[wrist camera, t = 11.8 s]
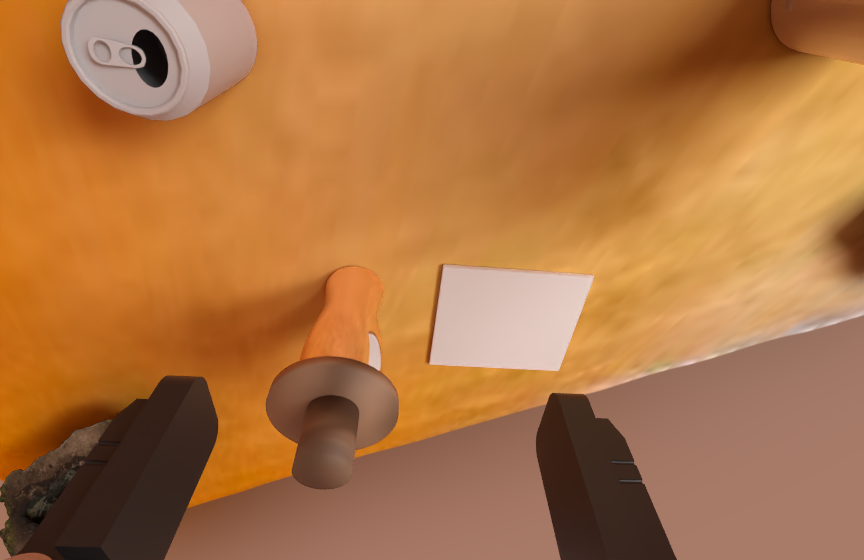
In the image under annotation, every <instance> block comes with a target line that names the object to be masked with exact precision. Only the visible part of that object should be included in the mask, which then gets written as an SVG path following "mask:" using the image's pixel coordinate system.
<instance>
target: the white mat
mask: <svg viewBox="0 0 864 560" xmlns="http://www.w3.org/2000/svg"><path fill="white" fill-rule="evenodd" d="M593 279H594V276H593V275H590V274H576V273H562V272H548V271H534V270H519V269H505V268H491V267H477V266H463V265H448V264H443V270H442V277H441V284H440V291H439V298H438V305H437V312H436V319H435V326H434V333H433V340H432V347H431V354H430V361H429V364H430V365H450V366H470V367H490V368H510V369H530V370H551V371H559V369H560V366H561V363H562V361H563V358H564V355H565V353H566V350H567V348H568V345H569V342H570V340H571V337H572V334H573V332H574V329H575V326H576V324H577V321H578V319H579V316H580V313H581V311H582V308H583V305H584V303H585V300H586V297H587V295H588V292H589V290H590V287H591V284H592V282H593Z"/></svg>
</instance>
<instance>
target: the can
mask: <svg viewBox="0 0 864 560" xmlns="http://www.w3.org/2000/svg"><path fill="white" fill-rule="evenodd" d="M60 23H61V41H62V44H63V47H64V50H65V53H66V55H67V58H68V61H69V63H70V64H71V66H72V68H73V69H74V71H75V72H76V74H77V75H78V77H79V78H80V80H81V81H82V82H83V83H84V84H85V85H86V86H87V87H88V88H89V89H90V90H91V91H92V92H93V93H94V94H95V95H96V96H97V97H98V98H100V99H101V100H103V101H104V102H106V103H108V104H109V105H111V106H112V107H114V108H115V109H118V110H121V111H124V112H127V113H129V114H132V115H137V116H140V117H143V118H145V119H149V120H165V121H169V120H173V119H176V118H180V117H183V116H186V115H188V114H190V113H191V112H193V111H194V110H196V109H198V108H199V107H201V106H202V105H204V104H206V103H207V102H209V101H210V100H212V99H214V98H215V97H217V96H218V95H220V94H221V93H223V92H225V91H226V90H228V89H229V88H231V87H233V86H234V85H236V84H237V83H239V82H240V81H241V80H242V79H244V78H245V77H246V76H247V75H248V74H249V72H250V70H251V69H252V67H253V65H254V63H255V60H256V54H257V48H258V45H257V37H256V30H255V26H254V24H253V22H252V19H251V17H250V14H249V12H248V10H247V9H246V7H245V6H244V4H243V3H242V2H241V0H69V1H68V2H67V3H66V6H65V9H64V12H63V15H62V18H61V21H60Z"/></svg>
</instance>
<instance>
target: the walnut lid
mask: <svg viewBox="0 0 864 560" xmlns="http://www.w3.org/2000/svg"><path fill="white" fill-rule="evenodd" d="M398 410H399V399H398V394H397V391H396V389H395V387H394V385H393V384H392V382H391V381H390V380H389V379H388V378H387V377H386V376H385V375H384V374H383V373H382V372H380V371H379V370H377V369H376V368H374V367H372V366H370V365H368V364H366V363H363V362H361V361H357V360H354V359H350V358H345V357H336V356H322V357H313V358H308V359H305V360H301V361H298V362H296V363H294V364H292V365H290V366H288V367H287V368H285V369H284V370H283V371H281V372H280V373H279V374H278V375H277V376H276V378H275V379H274V381H273V383H272V385H271V388H270V391H269V394H268V396H267V400H266V411H267V415H268V417H269V419H270V421H271V423H272V424H273V426H274V427H275V428H276V429H277V430H278V431H279V432H280V433H281V434H282V435H284V436H285V437H287V438H288V439H290V440H292V441H294V442H295V443H298V447H297V451H296V455H295V459H294V463H293V467H292V474H293V476H294V478H295V479H296V480H297V481H298V482H299V483H301V484H303V485H305V486H307V487H311V488H315V489H334V488H338V487H341V486H343V485H345V484H346V483H348V482H349V481H350V479H351V477H352V471H353V463H354V454H355V450H358V449H362V448H366V447H368V446H371V445H373V444H375V443H377V442H379V441H381V440H382V439H384V438H385V437H386V436H387V435H388V434H389V433H390V432H391V431H392V430H393V428H394V427H395V425H396V422H397V419H398Z"/></svg>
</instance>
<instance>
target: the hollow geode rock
mask: <svg viewBox="0 0 864 560" xmlns="http://www.w3.org/2000/svg"><path fill="white" fill-rule="evenodd" d="M111 421H112V420H104V421H103V422H100V423H97V424H95V425H93V426H89V427H85V428H84V429H78V430H75V431H73V433H72V435H71V436H70V437H69V438H68V439H67V440H65V441H64V442H63V443H62V445H61V446H60V447H59V448H57V449H55V450H53V451H50V452H49V453H48V454H46V455H44V456H42V457H39V458H38V459H37V460H36V461H34V462H33V464H32V465H31V466H29V467H28V468H27V469H26V470H24V471H23V470H21V469H20V470H15V471H13V472H12V473H10V474H9V475H8V476H7V477H6V481H5V482H4V483H3V485H2V487H0V491H1V493H2V494H1V496H0V502H5V504H4V505H5V507H6V509H7V514H8V516H9V519H8V520H7V521H6V523H5V527H6V528H4V529H2V530H1V531H0V537H1V538H2V539H3V542H4V545H5V546H6V548H7V550H8V552H9V554H10V556H11V557H13V556H15V555H17V553H18V552H19V551H20V550H21V549H22V548H23V547H24V546H25V544H26V543H27V542H28V541H29V539H30V538H31V537H32V535H33V534H34V532H35V531H36V529H37V528H38V526H39V525H40V524H41V522H42V521H43V519H44V518H45V516H46V515H47V513H48V512H49V511H50V509H51V508H52V506H53V505H54V503H55V502H56V501H57V499H58V498H59V496H60V495H61V493H62V492H63V490H64V489H65V488H66V486H67V485H68V483H69V482H70V480H71V479H72V478H73V476H74V475H75V473H76V472H77V470H78V469H79V467H80V466H81V465H84V463H85V459H86V457H87V456H88V454H89V453H90V452H91V450H92V449H93V447H94V446H97V444H98V440H99V439H100V437H101V436H102V434H103V433H104V431H105V430H106V429H107V427H108V426H109V424H110V423H111Z"/></svg>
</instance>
